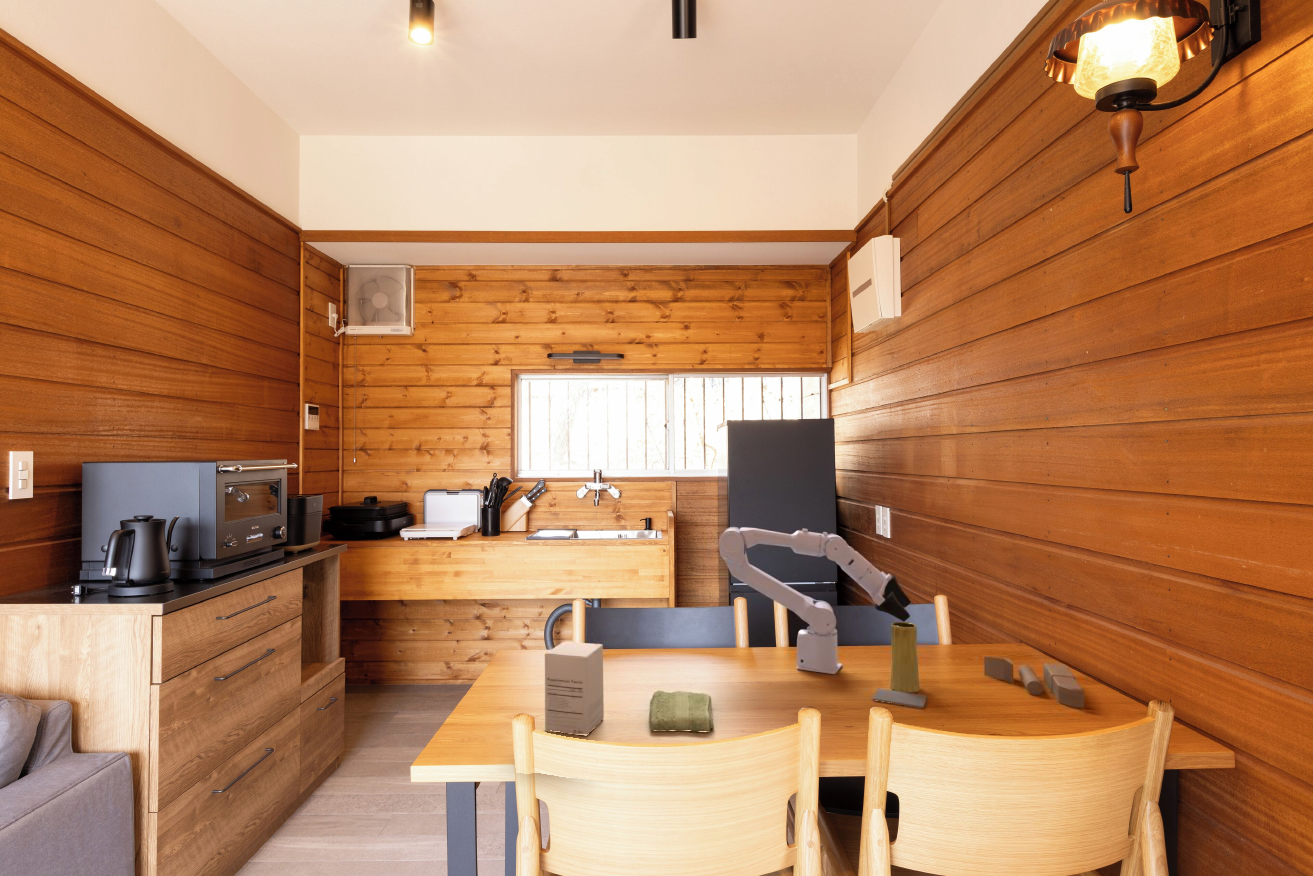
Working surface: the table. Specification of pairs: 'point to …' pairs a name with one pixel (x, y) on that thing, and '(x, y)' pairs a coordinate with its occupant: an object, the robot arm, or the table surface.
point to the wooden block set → (1054, 678)
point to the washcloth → (680, 711)
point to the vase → (904, 658)
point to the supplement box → (574, 687)
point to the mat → (900, 698)
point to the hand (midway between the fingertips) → (907, 611)
